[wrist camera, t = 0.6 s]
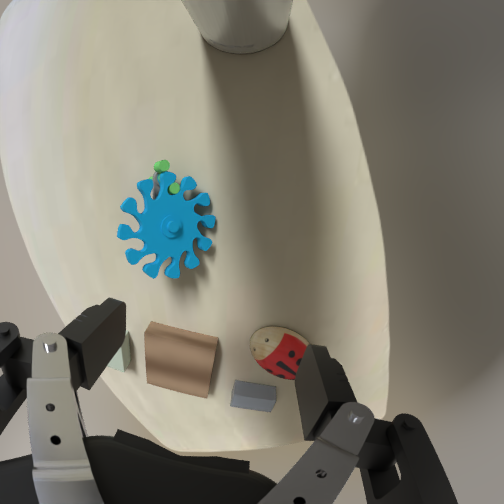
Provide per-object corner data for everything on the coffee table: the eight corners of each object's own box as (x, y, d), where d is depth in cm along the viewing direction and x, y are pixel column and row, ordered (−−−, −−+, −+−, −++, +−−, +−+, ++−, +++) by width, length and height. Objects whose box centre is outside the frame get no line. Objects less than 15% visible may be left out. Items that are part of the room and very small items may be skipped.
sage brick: (110, 324, 34) (101, 336, 31) (129, 330, 34) (120, 343, 31) (114, 353, 36) (106, 366, 33) (131, 359, 36) (124, 372, 33)
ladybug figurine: (272, 312, 32) (273, 330, 28) (327, 350, 34) (332, 368, 30) (237, 345, 34) (235, 363, 30) (292, 377, 36) (294, 395, 32)
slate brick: (231, 391, 37) (230, 406, 34) (235, 379, 36) (233, 394, 33) (270, 397, 37) (270, 412, 35) (275, 385, 36) (276, 400, 33)
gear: (220, 270, 28) (127, 291, 21) (191, 259, 32) (111, 275, 25) (218, 160, 25) (118, 159, 19) (188, 166, 30) (104, 168, 23)
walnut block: (152, 319, 33) (144, 333, 30) (218, 335, 33) (215, 350, 31) (153, 369, 37) (147, 383, 34) (209, 383, 37) (207, 398, 34)
